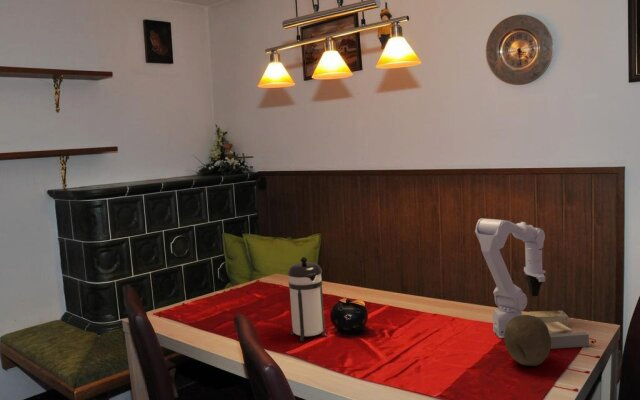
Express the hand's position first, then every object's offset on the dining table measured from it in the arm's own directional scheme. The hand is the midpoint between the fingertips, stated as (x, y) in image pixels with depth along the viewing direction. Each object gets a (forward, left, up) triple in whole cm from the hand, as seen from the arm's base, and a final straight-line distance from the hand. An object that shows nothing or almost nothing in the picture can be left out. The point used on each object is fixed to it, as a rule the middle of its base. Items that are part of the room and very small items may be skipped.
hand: (534, 295), depth 203 cm
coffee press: (-85, +4, -11) cm, 86 cm away
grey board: (-2, -23, -10) cm, 25 cm away
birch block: (0, -17, -11) cm, 20 cm away
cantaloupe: (-16, -34, -11) cm, 39 cm away
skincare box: (+10, -3, -8) cm, 13 cm away
